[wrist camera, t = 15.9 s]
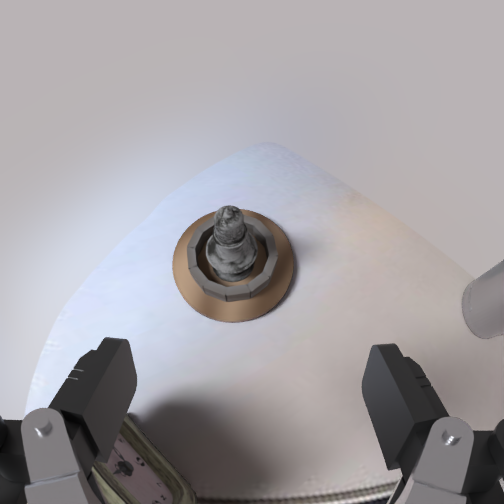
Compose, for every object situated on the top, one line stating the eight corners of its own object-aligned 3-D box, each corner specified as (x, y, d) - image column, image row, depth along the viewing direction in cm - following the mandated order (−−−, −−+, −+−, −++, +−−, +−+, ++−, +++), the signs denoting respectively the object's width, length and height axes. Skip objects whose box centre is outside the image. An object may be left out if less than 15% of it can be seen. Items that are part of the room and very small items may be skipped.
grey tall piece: (265, 270, 40) (272, 219, 29) (222, 292, 38) (212, 248, 27) (242, 233, 42) (241, 173, 31) (201, 253, 40) (185, 198, 30)
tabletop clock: (208, 489, 29) (150, 608, 7) (154, 525, 26) (56, 631, 4) (126, 398, 34) (-27, 378, 11) (78, 437, 31) (-80, 443, 8)
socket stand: (306, 234, 43) (311, 220, 40) (269, 340, 37) (271, 334, 34) (203, 200, 45) (200, 184, 42) (155, 295, 39) (146, 285, 36)
